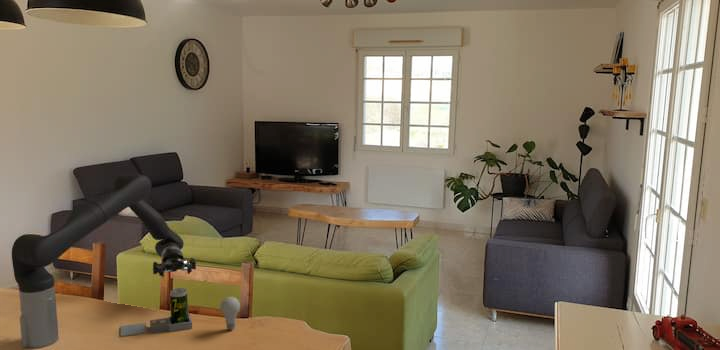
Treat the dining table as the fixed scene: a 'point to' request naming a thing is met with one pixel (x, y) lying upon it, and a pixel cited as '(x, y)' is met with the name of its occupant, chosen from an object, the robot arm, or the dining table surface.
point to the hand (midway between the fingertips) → (176, 272)
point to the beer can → (179, 306)
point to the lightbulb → (230, 311)
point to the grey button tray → (169, 325)
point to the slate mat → (133, 329)
